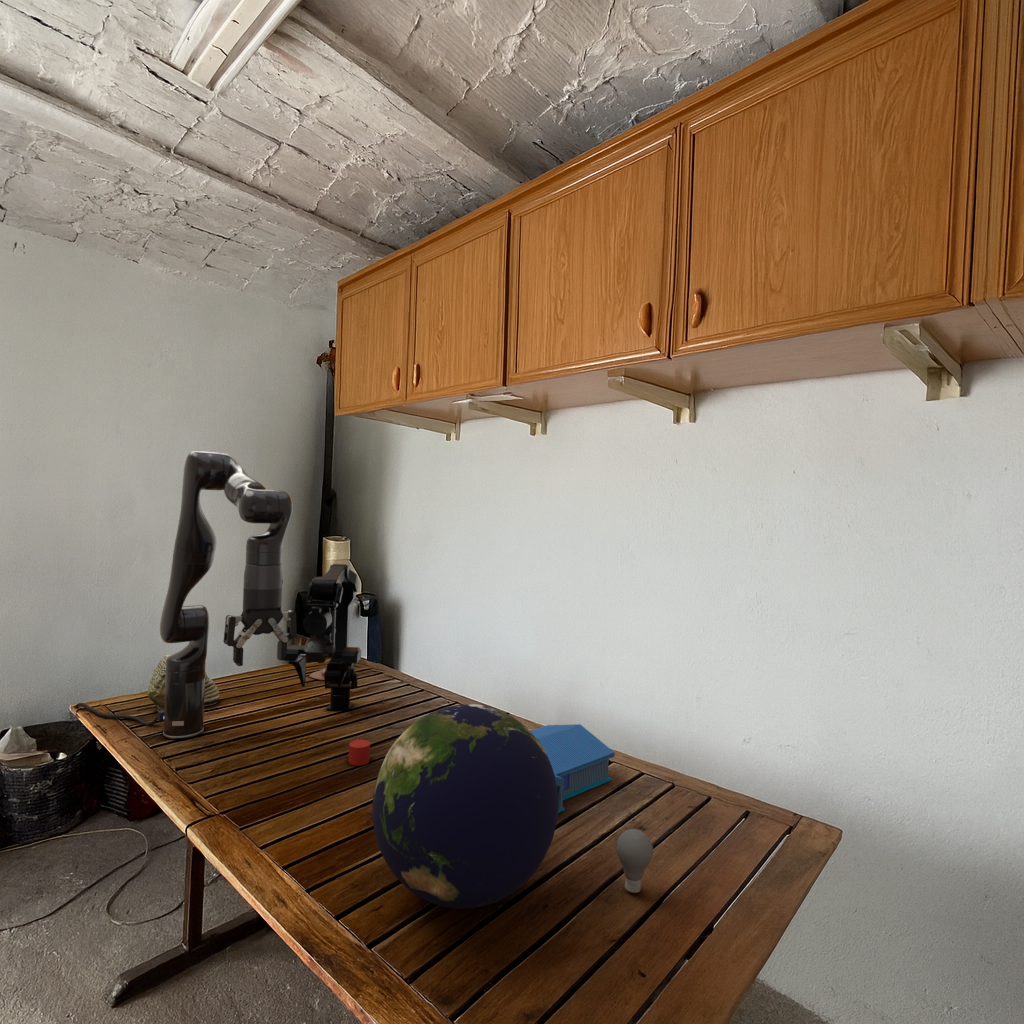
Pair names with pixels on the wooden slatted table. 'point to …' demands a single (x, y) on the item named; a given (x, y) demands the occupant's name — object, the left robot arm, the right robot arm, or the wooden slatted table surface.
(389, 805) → the globe
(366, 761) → the canister
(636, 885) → the light bulb
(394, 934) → the wooden slatted table surface
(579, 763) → the model building
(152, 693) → the fossil
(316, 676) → the anatomical model
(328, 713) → the wooden slatted table surface
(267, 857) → the wooden slatted table surface
